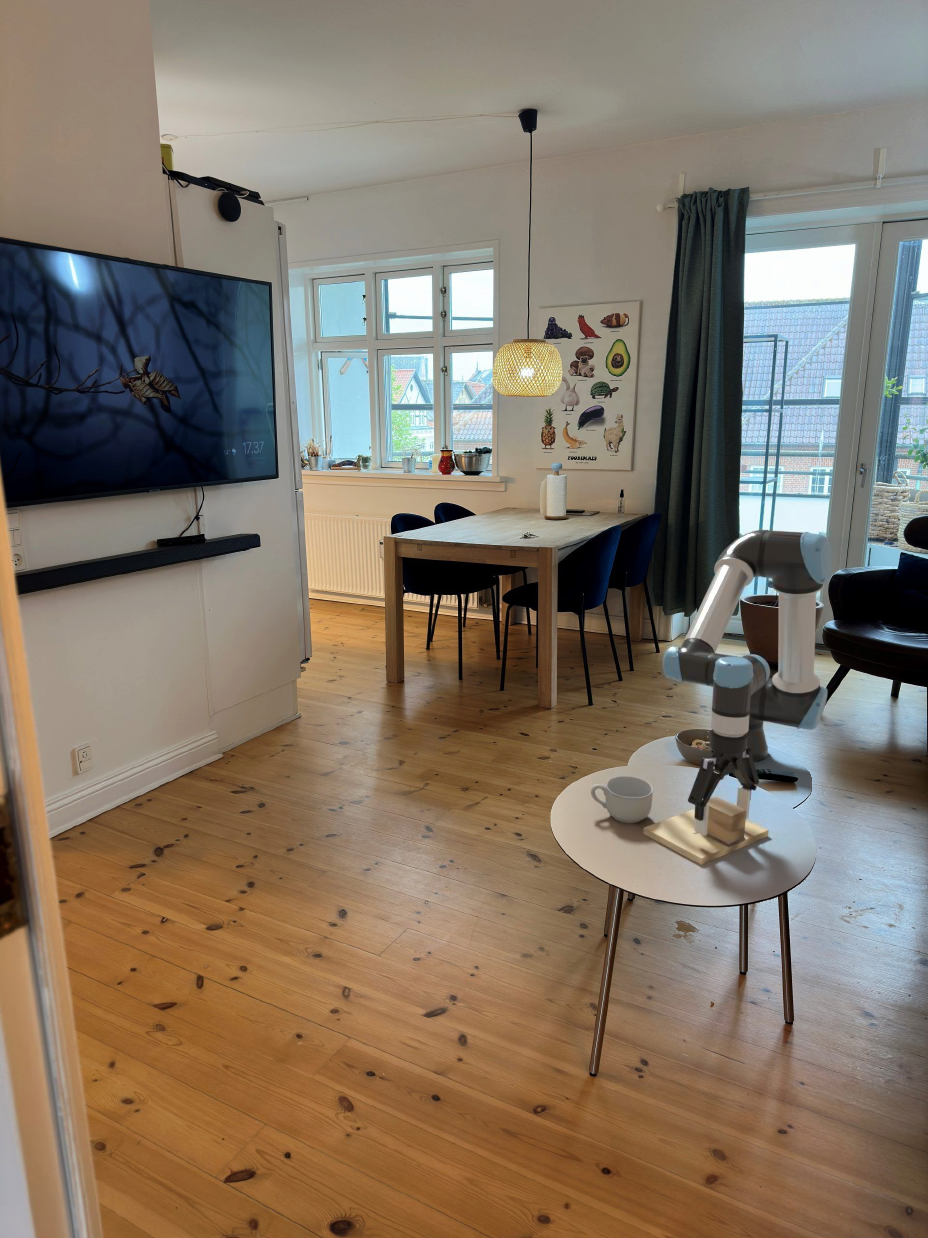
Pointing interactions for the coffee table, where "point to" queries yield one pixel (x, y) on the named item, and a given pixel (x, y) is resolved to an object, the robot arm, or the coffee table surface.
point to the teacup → (626, 798)
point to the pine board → (697, 837)
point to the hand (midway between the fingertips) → (721, 824)
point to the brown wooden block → (725, 822)
